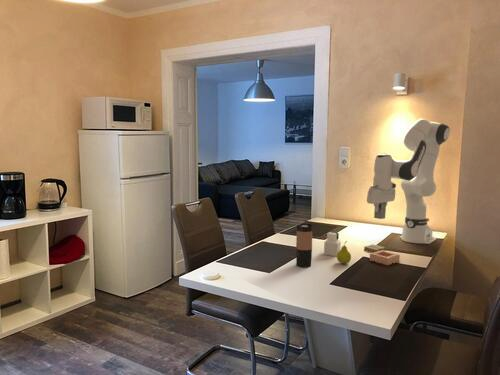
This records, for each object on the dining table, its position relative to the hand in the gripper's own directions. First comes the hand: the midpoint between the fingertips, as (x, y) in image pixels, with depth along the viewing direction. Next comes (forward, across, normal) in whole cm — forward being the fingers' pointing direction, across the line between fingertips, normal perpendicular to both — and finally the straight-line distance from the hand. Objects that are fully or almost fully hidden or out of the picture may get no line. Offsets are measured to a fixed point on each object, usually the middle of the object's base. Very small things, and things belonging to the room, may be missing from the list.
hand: (380, 210), depth 213 cm
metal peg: (+4, 0, 0) cm, 4 cm away
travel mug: (+25, -44, +11) cm, 52 cm away
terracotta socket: (+24, -6, -9) cm, 26 cm away
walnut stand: (+24, +6, +6) cm, 25 cm away
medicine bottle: (+24, -18, +15) cm, 34 cm away
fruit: (+25, -26, +1) cm, 36 cm away
